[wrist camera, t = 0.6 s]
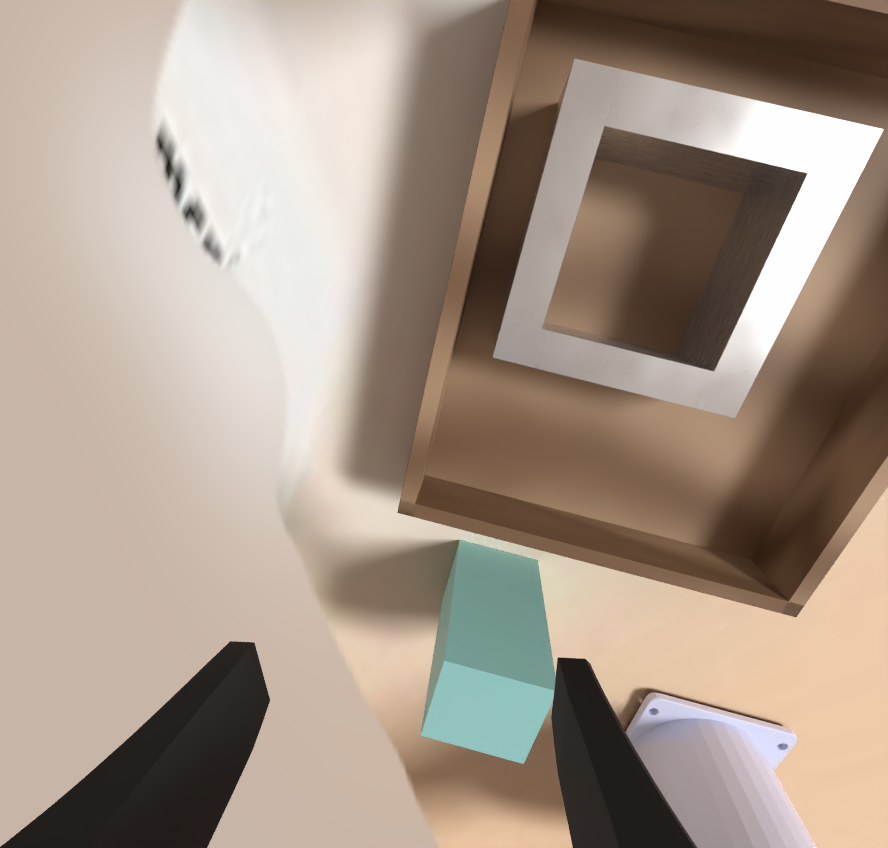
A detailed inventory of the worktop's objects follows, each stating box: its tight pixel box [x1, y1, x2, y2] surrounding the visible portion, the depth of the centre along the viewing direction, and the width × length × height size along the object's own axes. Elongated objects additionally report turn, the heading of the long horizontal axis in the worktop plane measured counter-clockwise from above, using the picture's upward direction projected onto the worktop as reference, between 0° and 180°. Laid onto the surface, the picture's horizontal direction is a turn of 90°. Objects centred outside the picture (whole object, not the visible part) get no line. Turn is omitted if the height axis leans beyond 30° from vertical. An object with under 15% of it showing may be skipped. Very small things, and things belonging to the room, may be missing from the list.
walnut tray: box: [397, 0, 888, 617], centre depth 15 cm, size 18×16×4 cm
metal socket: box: [493, 59, 883, 418], centre depth 14 cm, size 8×8×3 cm
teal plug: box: [421, 540, 556, 764], centre depth 18 cm, size 4×4×7 cm
